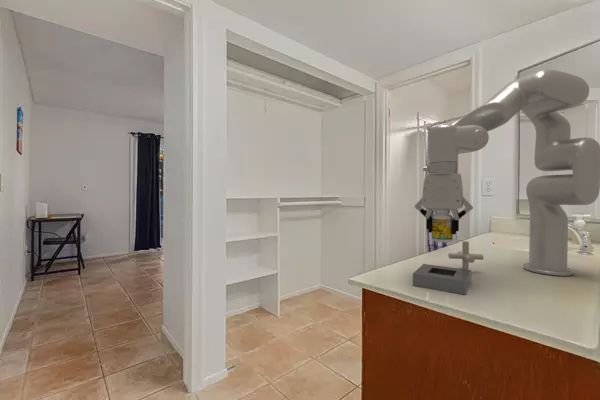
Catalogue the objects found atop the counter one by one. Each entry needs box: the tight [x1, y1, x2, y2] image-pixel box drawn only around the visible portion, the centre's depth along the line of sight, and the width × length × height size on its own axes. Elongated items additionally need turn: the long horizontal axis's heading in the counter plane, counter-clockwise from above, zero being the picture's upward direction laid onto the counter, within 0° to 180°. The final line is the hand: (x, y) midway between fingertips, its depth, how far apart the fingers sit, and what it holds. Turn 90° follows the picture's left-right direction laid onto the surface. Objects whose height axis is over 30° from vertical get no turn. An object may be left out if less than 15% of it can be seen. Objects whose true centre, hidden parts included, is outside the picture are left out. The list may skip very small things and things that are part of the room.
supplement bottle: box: [431, 209, 454, 243], centre depth 81 cm, size 5×5×10 cm
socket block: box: [412, 263, 472, 296], centre depth 81 cm, size 13×13×4 cm
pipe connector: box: [448, 240, 484, 270], centre depth 94 cm, size 10×10×10 cm
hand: (442, 232), depth 81 cm, fingers closed on supplement bottle, 5 cm apart
